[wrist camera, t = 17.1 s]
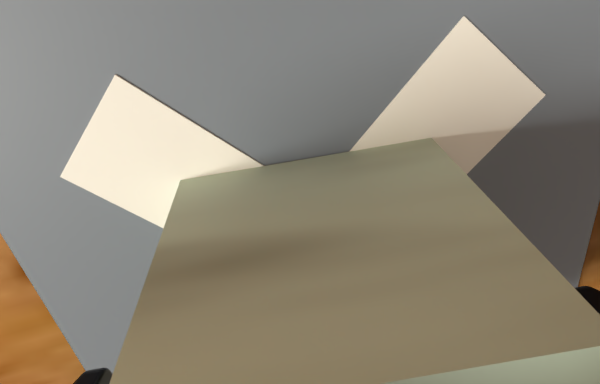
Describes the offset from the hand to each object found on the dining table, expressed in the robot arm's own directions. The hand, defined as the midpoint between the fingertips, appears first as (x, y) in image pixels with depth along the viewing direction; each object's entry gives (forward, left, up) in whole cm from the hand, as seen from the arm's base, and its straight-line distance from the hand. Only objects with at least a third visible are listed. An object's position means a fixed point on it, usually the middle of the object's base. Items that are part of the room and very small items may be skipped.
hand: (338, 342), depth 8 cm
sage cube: (0, 0, -3) cm, 3 cm away
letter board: (0, 0, -3) cm, 3 cm away
